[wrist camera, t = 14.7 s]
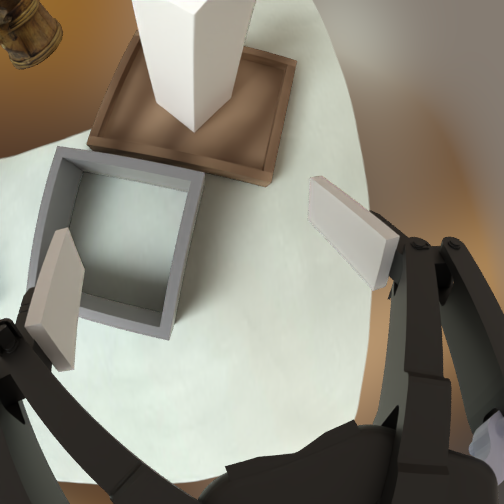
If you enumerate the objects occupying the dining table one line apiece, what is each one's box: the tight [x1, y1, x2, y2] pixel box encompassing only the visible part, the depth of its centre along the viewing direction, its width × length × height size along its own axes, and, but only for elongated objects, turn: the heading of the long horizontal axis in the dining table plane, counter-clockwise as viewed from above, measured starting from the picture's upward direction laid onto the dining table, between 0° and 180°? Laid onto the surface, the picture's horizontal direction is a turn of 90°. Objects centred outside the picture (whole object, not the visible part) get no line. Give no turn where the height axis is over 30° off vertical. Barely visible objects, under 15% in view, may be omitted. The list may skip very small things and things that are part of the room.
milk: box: [132, 0, 256, 132], centre depth 20 cm, size 6×6×22 cm
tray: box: [86, 30, 297, 187], centre depth 31 cm, size 20×16×2 cm
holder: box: [26, 146, 205, 340], centre depth 28 cm, size 15×15×6 cm
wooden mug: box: [0, 0, 63, 69], centre depth 19 cm, size 9×14×18 cm, turn 10°
